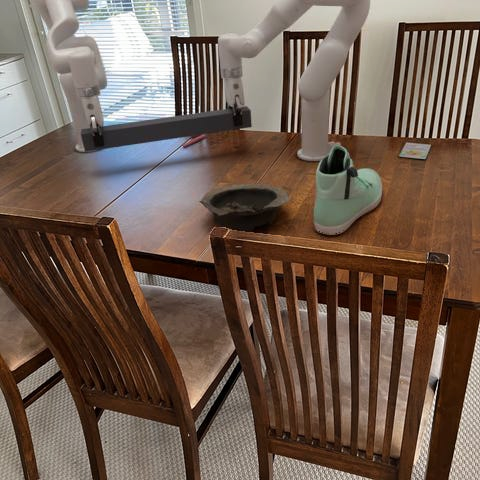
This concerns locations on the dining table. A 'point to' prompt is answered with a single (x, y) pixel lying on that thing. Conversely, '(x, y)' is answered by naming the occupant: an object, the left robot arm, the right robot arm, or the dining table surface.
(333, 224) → the sneaker
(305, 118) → the right robot arm
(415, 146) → the baking ingredient package
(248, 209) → the stone bowl
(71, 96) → the left robot arm
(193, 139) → the red elongated piece
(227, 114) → the beam
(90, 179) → the dining table surface
